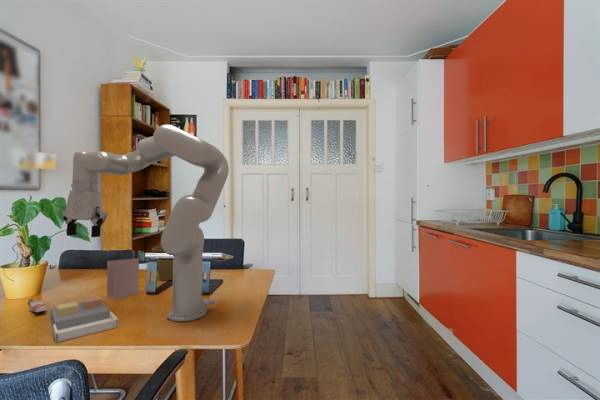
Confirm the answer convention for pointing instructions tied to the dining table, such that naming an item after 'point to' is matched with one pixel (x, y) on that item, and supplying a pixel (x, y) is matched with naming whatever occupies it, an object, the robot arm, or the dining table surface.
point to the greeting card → (122, 278)
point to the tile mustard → (67, 309)
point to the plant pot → (164, 266)
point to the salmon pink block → (91, 302)
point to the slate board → (80, 316)
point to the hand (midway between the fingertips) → (83, 236)
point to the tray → (85, 329)
